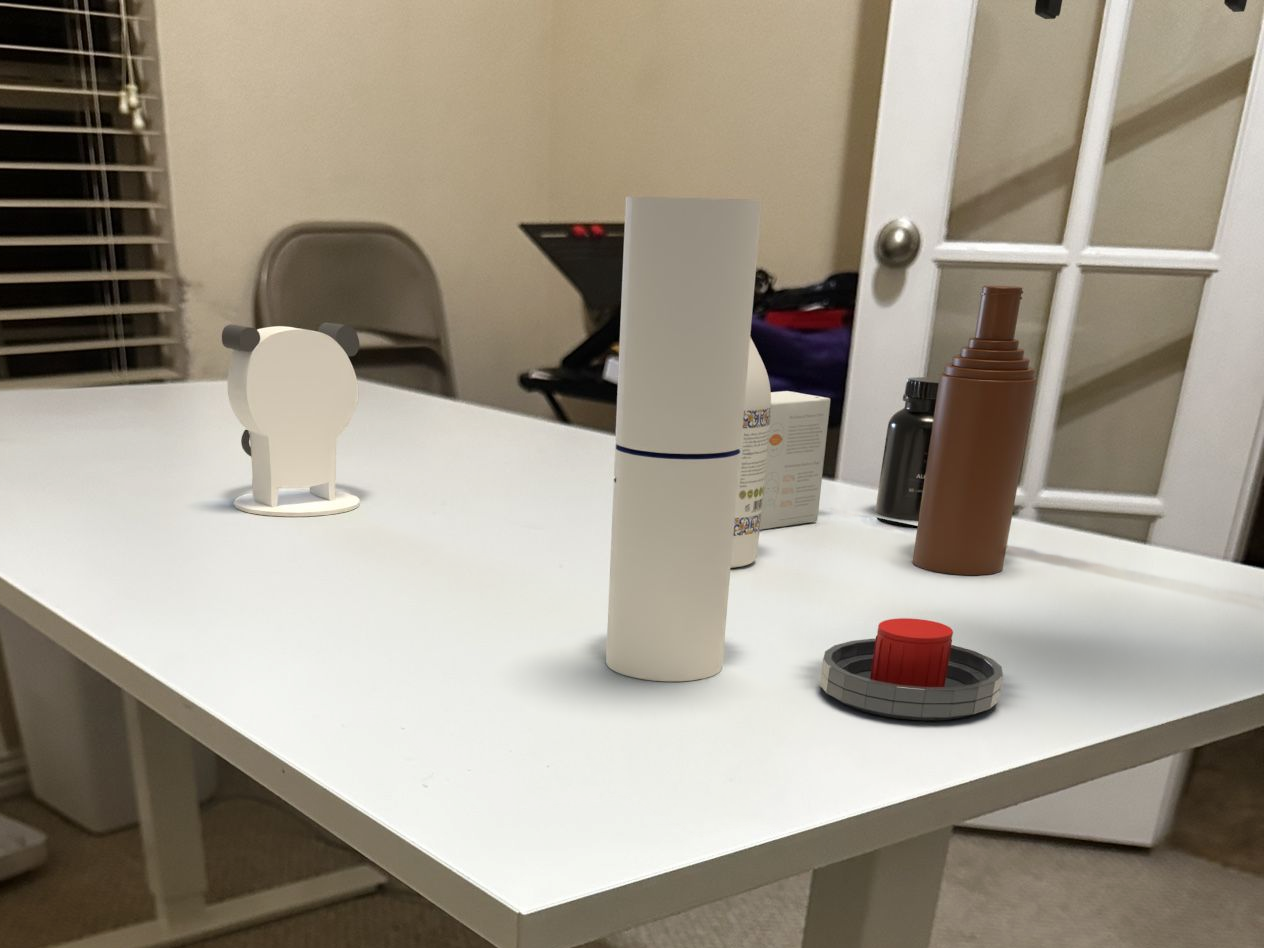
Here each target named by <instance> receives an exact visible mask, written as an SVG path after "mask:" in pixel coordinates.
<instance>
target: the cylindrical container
mask: <svg viewBox="0 0 1264 948" xmlns="http://www.w3.org/2000/svg"><path fill="white" fill-rule="evenodd" d="M762 203H763V200H762V199H746V198H743V199H742V198H711V197H710V198H708V197H707V198H706V197H704V198H703V197H665V196H664V197H662V196H661V197H659V196H658V197H654V196H625V209H624V232H623V257H622V276H621V277H622V278H621V280H622V281H621V299H620V301H621V303H620V305H621V306H620V321H619V323H620V324H619V325H620V326H619V346H618V369H617V370H618V371H617V372H618V373H617V391H616V393H617V395H616V415H615V419H616V420H615V439H614V440H615V441H614V463H613V464H614V465H613V476H614V478H613V488H612V489H613V491H612V509H611V510H612V512H611V534H610V535H611V537H610V556H609V557H610V559H609V580H608V581H609V584H608V585H609V586H608V607H607V608H608V609H607V628H606V655H605V664H606V665H607V667H608V668H609V669H610V670H611V671H614V672H615V673H618V674H620V675H623V676H626V677H630V678H633V679H638V680H639V679H640V680H644V681H653V682H654V681H655V682H688V681H690V682H691V681H698V680H704V679H707V678H711V677H712V676H716V675H718V674H719V673H720V672H722V671H721V670H722V669H723V664H724V650H725V639H726V626H727V616H728V604H729V603H728V602H729V591H730V578H731V569H732V568H731V557H732V545H733V534H734V522H735V510H736V499H737V487H738V476H739V464H740V450H739V448H740V447H741V441H742V429H743V417H744V405H745V393H746V381H747V369H748V357H749V345H750V337H751V334H752V333H751V331H752V319H753V308H754V299H755V298H754V296H755V287H756V286H755V285H756V273H757V261H758V252H759V251H758V250H759V239H760V228H761V227H760V226H761V218H762V217H761V215H762Z"/></svg>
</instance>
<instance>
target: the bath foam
mask: <svg viewBox="0 0 1264 948" xmlns="http://www.w3.org/2000/svg"><path fill="white" fill-rule="evenodd" d="M769 378H770V377H769V375H768V372H767V369H766V366H765V364H764V362H763V359H762V357H761V355H760V354H759V351H758V348H757V347H756V344H755V342H754V341H753V339H752V336H750V345H749V357H748V369H747V381H746V393H745V405H744V417H743V429H742V441H741V447H740V448H739V450H740V464H739V476H738V487H737V499H736V510H735V522H734V534H733V545H732V557H731V568H730V569H734V568H742V567H746V566H748V565H750V564H752V563H754V561H756V559H757V557H758V550H759V540H760V531H761V530H760V522H761V511H762V500H763V489H764V478H765V468H766V457H767V446H768V435H769V424H770V413H771V391H772V390H771V383H770V379H769Z"/></svg>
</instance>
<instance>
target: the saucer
mask: <svg viewBox="0 0 1264 948" xmlns="http://www.w3.org/2000/svg"><path fill="white" fill-rule="evenodd" d="M875 640H876V637H875V638H864V639H856V640H849V641H846V642H842V643H837V644H835V645H832V646H831V647H829V648H828V649H826V650H825V651H824V654H823V657H822V666H821V672H820V680H819V685H820V687H821V688H822V690H823V692H825V694H827V695H829V696H830V697H832V698H834V699H836V700H838V701H839V702H840V703H841V704H844V705H846V706H848V707H850V708H853V709H854V710H858V711H861V712H864V713H868V714H872V715H875V716H880V717H886V718H890V719H891V718H893V719H897V720H898V719H899V720H907V721H948V720H956V719H961V718H966V717H969V716H972V715H976V714H979V713H981V712H985V711H988V710H990V709H992V708H993V707H994V706H995V705H996V704H997V703H998V702H999V698H1000V693H1001V687H1002V684H1003V683H1002V682H1003V677H1004V673H1003V667H1002V666H1001V665H1000V664H999V663H998V662H996V660H994V659H993V658H991V657H989V656H987V655H985V654H982V653H980V652H977V651H974V650H972V649H968V648H964V647H962V646H958V645H954V644H951V650H950V656H949V662H948V668H947V674H946V680H945V686H944V687H918V686H908V685H897V684H892V683H886V682H881V681H876V680H871V679H870V676H871V669H872V662H873V655H874V647H875Z"/></svg>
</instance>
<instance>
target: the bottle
mask: <svg viewBox="0 0 1264 948" xmlns="http://www.w3.org/2000/svg"><path fill="white" fill-rule="evenodd" d="M1023 294H1024V290H1023V287H1022V286H1016V285H1015V286H1013V285H983V286H982V289H981V292H980V294H979V295H980V296H981V297H980V300H979V301H980V302H979V306H978V307H979V308H978V315H977V321H976V327H975V333H974V334H975V335H974V337H969V338H968V343H967V345H962V346H961V347H960V350H959V351H960V352H959V354H954V355H953V356H952V360H951V362H949V363H946V364H944V367H943V371H942V372H940V374H939V377H938V378H939V385H938V392H937V398H936V405H935V412H934V419H933V426H932V432H931V439H930V446H929V453H928V459H927V466H926V473H925V480H924V486H923V493H922V500H921V507H920V514H919V520H918V521H917V522H918V523H917V526H918V527H917V529H916V534H915V541H914V548H913V554H912V564H914V565H915V566H916V567H918V568H921V569H923V570H927V571H930V572H935V573H942V574H948V575H956V576H957V575H958V576H983V575H984V576H985V575H986V576H987V575H992V574H996V573H999V572H1001V571H1002V570H1003V569H1004V564H1005V559H1006V553H1007V548H1008V547H1007V546H1008V541H1009V536H1010V531H1011V524H1012V519H1013V512H1014V509H1015V508H1014V507H1015V502H1016V497H1017V491H1018V486H1019V481H1020V473H1021V469H1022V465H1023V464H1022V463H1023V458H1024V452H1025V448H1026V441H1027V435H1028V430H1029V425H1030V418H1031V413H1032V408H1033V403H1034V398H1035V397H1034V396H1035V392H1036V391H1035V390H1036V386H1037V380H1038V379H1037V377H1035V372H1036V369H1035V368H1034V367H1032V366H1030V358H1027V357H1025V356H1024V355H1025V349H1024V348H1019V344H1020V340H1019V339H1017V338H1015V334H1016V330H1017V324H1018V318H1019V313H1020V312H1019V311H1020V306H1021V300H1023V297H1022V295H1023Z"/></svg>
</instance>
